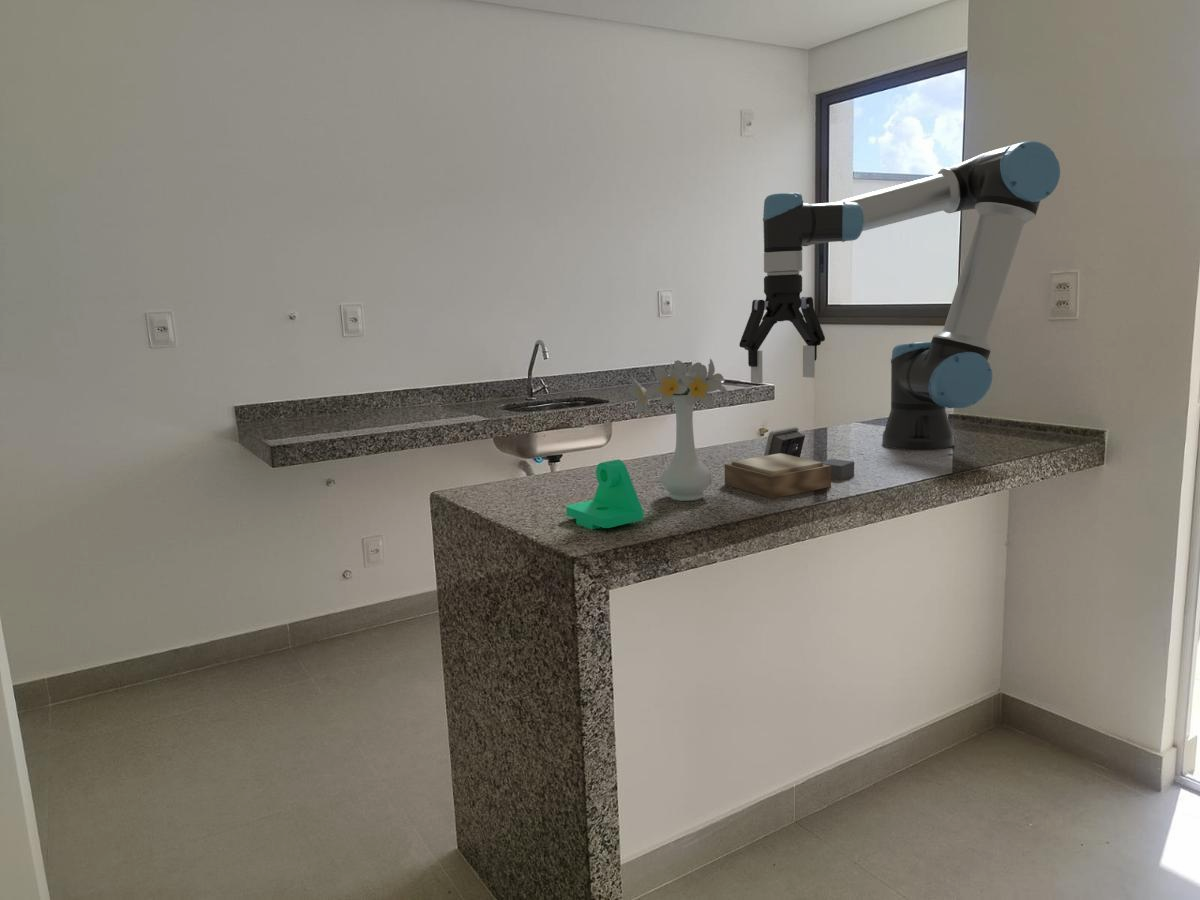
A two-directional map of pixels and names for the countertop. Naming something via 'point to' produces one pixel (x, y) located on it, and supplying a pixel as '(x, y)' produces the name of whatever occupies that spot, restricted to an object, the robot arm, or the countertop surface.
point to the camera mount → (609, 499)
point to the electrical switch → (785, 442)
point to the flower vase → (683, 423)
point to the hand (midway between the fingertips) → (783, 380)
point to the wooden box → (777, 475)
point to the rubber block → (840, 468)
